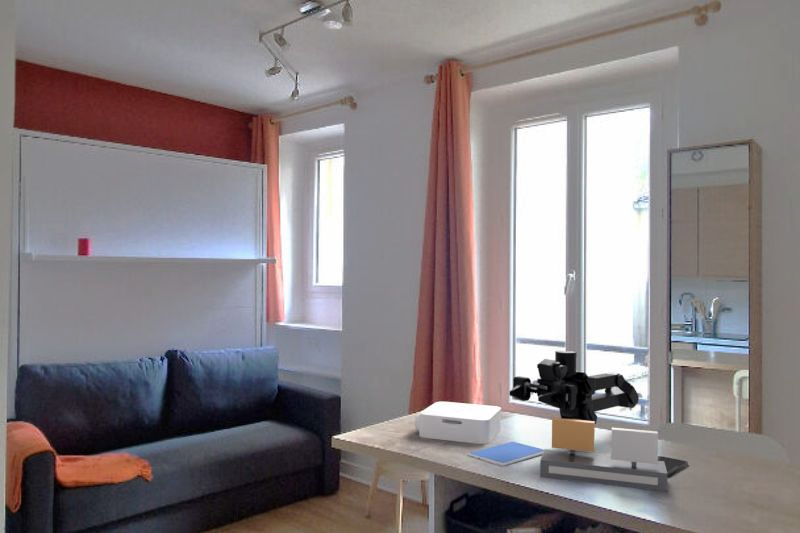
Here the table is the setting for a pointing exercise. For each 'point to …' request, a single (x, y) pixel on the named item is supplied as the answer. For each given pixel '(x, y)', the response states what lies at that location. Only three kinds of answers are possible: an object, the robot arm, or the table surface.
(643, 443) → the grey toggle
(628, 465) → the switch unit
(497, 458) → the tablet computer
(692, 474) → the table surface
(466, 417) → the projector
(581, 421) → the amber toggle
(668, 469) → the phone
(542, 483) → the table surface
